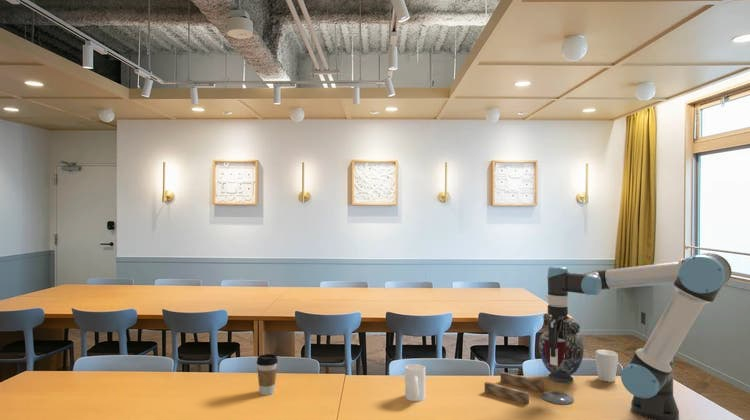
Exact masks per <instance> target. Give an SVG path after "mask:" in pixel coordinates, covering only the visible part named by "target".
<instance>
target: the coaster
mask: <svg viewBox="0 0 750 420" xmlns="http://www.w3.org/2000/svg"><path fill="white" fill-rule="evenodd" d="M541 398H542V399H543V400H544V401H546V402H548V403H552V404H554V405H566V406H567V405H571V404H573V403H574V401H575V399H574V397H573V396H572V395H570V394H568V393H566V392H562V391H561V392H560V391H555V390H549V391H548V390H547V391H543V392H541Z"/></svg>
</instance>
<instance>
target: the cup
mask: <svg viewBox="0 0 750 420" xmlns="http://www.w3.org/2000/svg"><path fill="white" fill-rule="evenodd" d="M594 358H595V364H596V372H597V377H598V379H599V380H601V381H602V380H603V382H606V381H608V382H607V383H613V382H615V381H616V377H617V376H616V375H617V370H618V369H617V368H618V363H619V355H618V353H617V352H616V351H613V350H608V349H597V350H595V357H594Z"/></svg>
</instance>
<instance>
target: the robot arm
mask: <svg viewBox="0 0 750 420" xmlns="http://www.w3.org/2000/svg"><path fill="white" fill-rule="evenodd" d="M730 264H731V263H729V261H728V260H727V259H726V258H725V257H723V256H722V255H720V254H717V253H711V252H704V253H700V254H694V255H692V256H689V257H684V258H681V259H680V260H679V261H673V262H665V263H663V262H662V263H655V264H647V265H637V266H631V267H630V266H628V267H622V268H612V269H606V270H605V269H604V270H592V271H588V272H586V273H585V272H584V273H576V272H575V273H573V272H569V269H568V267H566V266H561V265H560V266H556V265H554V266H549V267H548V269H547V277H546V278H547V295H546V298H547V304H548V305H547V314H549V315H550V316H552V320H551V322H549V338H548V348H550V364H552V365H556V366H557V365H558V349H557V342H558V338H560V339H564V340H565V341H566V340H567V337H566V317H565V316H568V315H569V311H568V310H569V307H568V305H569V293H576V294H583V295H587V296H598V295H600V292H601V291H602V290H611V289H624V288H637V287H650V286H660V285H661V286H662V285H673V288H674V289H675V292H674V293H673V295H672V297H671V299H670V301H669V302H668V304H667V306H666V307H665V308H664V311H663V313H662V315H661V316H660V318H659V319H658V322H657V323H656V325H655V326H654V329H653V330H652V332H651V334H650V336H649V337H648V339H647V341H646V343H645V345H644V347H642V348H640V347H639V348H638V349H636V350H635V352H634V353H633V355H632V357H631V359H630V361H629V362H628V364H626V365H625V366H624V367H623V368H622V370H621V373H620V379H621V383H622V385H623V387H624V388H625V390H626V391H628V392H629V393H630V394H631V395H632V400H631V403H630V409H631V410H632V412H634V413H635V414H636V415H638V416H640V417H643V418H646V419H648V420H679V419H680V410H679V407H678V405H677V402H676V399H675V396H674V364H675V363H674V357H675V355H676V353H677V351H679V349H680V347H681V346H682V345H681V344H682V343H683V341H684V340H685V338H686V336H687V334H688V333H689V331H690V330H691V327H692V326H693V325H694V323H695V321H696V320H697V318H698V316H699V314H700V313H701V311H702V309H703V307H705V305H706V304H712V303H713V302H714V300H715V299H716V297H717V295H718V293H720V290H721V288H722V287H723V286H724V285H726V284H727V283H728V281H729V280H730V278H731V277H732V273H733V272H732V267H731V265H730ZM566 344H567V341H566ZM564 358H565V354H564Z"/></svg>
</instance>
